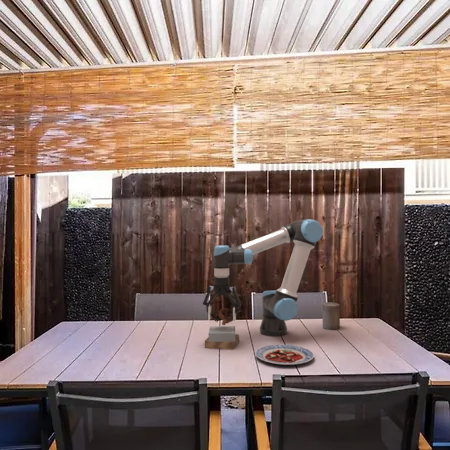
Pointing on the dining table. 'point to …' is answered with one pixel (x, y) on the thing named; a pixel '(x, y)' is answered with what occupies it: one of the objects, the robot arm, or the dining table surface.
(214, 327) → the top slab
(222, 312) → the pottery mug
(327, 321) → the pillar candle
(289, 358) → the ceramic plate
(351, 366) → the dining table surface
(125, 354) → the dining table surface
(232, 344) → the base slab
